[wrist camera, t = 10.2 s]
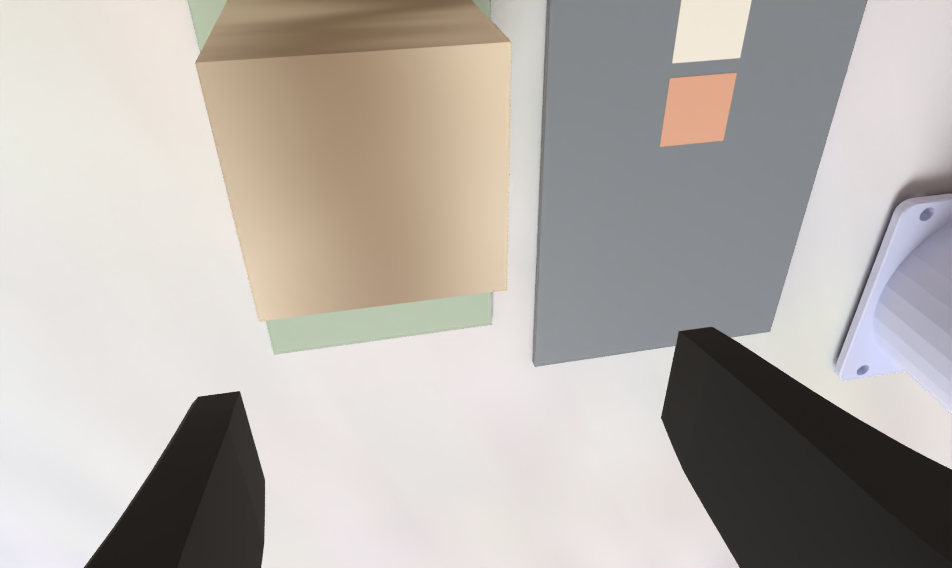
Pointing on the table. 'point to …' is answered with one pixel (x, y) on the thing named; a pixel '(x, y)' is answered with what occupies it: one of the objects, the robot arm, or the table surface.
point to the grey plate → (677, 164)
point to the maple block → (362, 149)
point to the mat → (366, 321)
